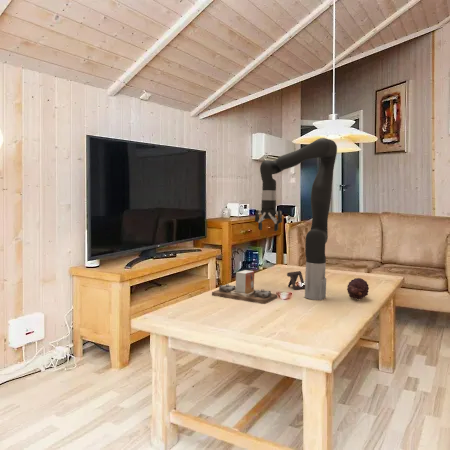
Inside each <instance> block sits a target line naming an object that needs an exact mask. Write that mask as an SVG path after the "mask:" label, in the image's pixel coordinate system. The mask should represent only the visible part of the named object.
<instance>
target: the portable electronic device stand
mask: <svg viewBox="0 0 450 450" xmlns="http://www.w3.org/2000/svg"><path fill="white" fill-rule="evenodd" d="M286 276H287V277H288V278H290V280H289V283H288V285H287V287H288V288H290V287H291V286H292V289H293V290H294V291H297V290H302V289H303V290H305V285H303V286H302V283H304V284H305V280H304V277H303V274H302V271H301V270H297V271H296V270H295V271H290V272H286ZM298 277H299V279H300V284H301V285H296V282H297V280H298Z"/></svg>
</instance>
